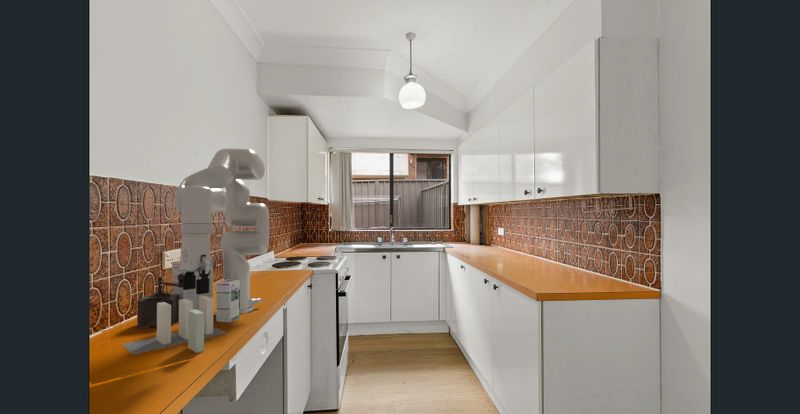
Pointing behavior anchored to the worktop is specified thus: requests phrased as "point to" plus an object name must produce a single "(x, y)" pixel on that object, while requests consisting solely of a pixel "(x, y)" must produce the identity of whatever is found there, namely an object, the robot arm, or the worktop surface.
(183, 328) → the domino
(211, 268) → the cracker box
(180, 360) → the worktop surface
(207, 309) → the domino
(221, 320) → the syrup box
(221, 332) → the mat
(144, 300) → the dark block with crank
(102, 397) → the worktop surface
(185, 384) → the worktop surface
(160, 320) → the domino
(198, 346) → the domino
